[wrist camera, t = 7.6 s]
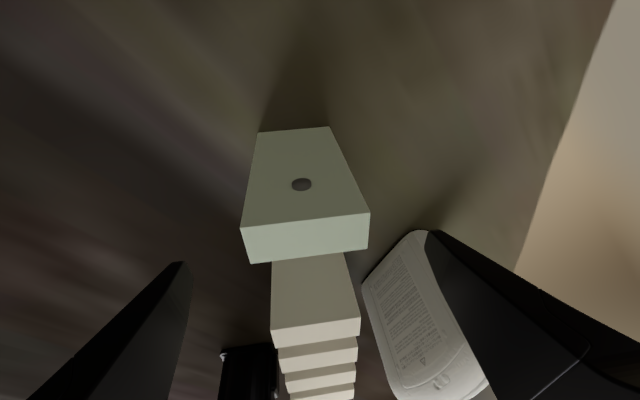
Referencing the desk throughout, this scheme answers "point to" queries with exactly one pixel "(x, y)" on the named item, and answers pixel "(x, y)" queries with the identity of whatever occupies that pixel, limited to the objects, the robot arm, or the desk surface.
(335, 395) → the domino
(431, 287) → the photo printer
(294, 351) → the domino
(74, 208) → the desk surface
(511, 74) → the desk surface
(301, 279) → the domino
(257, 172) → the domino
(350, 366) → the domino
